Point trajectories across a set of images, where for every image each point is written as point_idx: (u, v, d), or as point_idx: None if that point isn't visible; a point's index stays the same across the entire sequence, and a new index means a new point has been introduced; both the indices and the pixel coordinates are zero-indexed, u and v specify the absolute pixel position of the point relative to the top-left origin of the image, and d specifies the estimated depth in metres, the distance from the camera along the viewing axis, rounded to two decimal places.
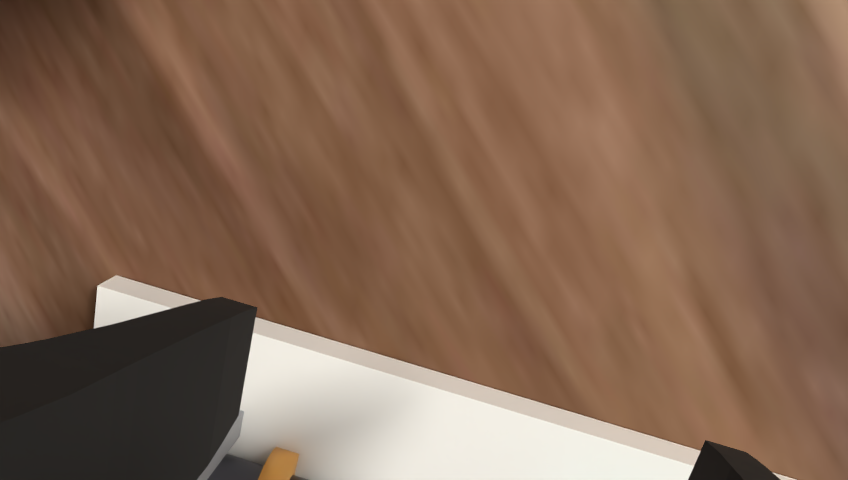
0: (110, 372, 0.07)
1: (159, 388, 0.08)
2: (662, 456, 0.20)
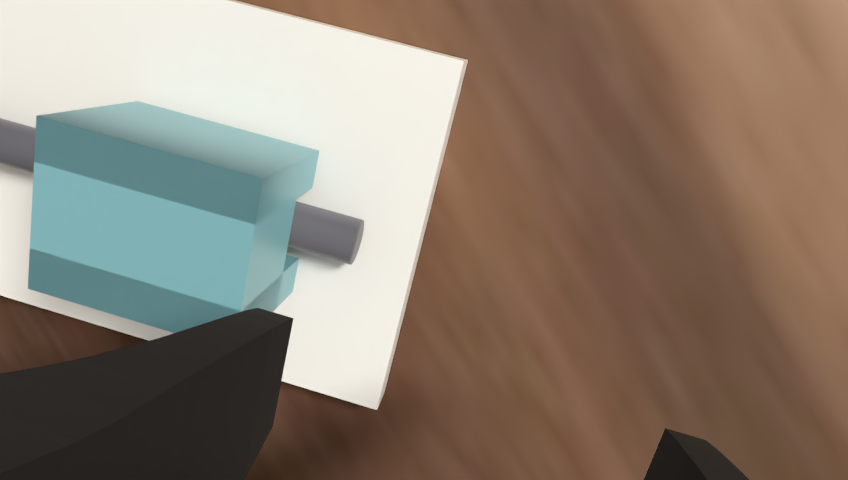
0: (164, 389, 0.07)
1: (206, 403, 0.08)
2: (246, 5, 0.16)
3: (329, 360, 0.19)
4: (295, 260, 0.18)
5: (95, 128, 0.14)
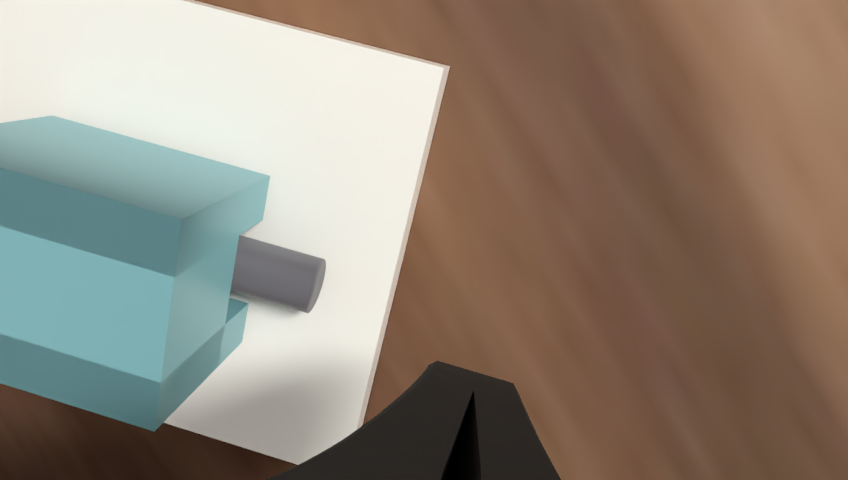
0: (435, 473, 0.07)
1: (443, 476, 0.08)
2: (180, 0, 0.13)
3: (288, 421, 0.16)
4: (243, 306, 0.15)
5: None
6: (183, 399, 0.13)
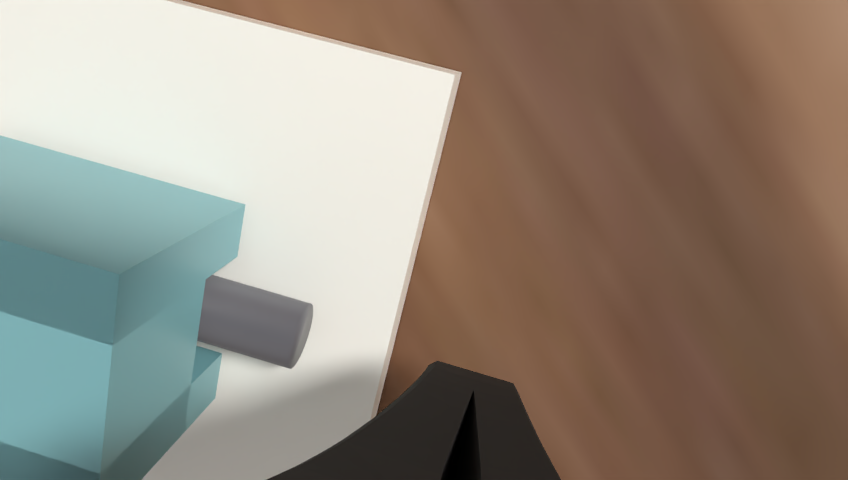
0: (435, 473, 0.07)
1: (442, 476, 0.08)
2: None
3: None
4: (215, 358, 0.12)
5: None
6: None
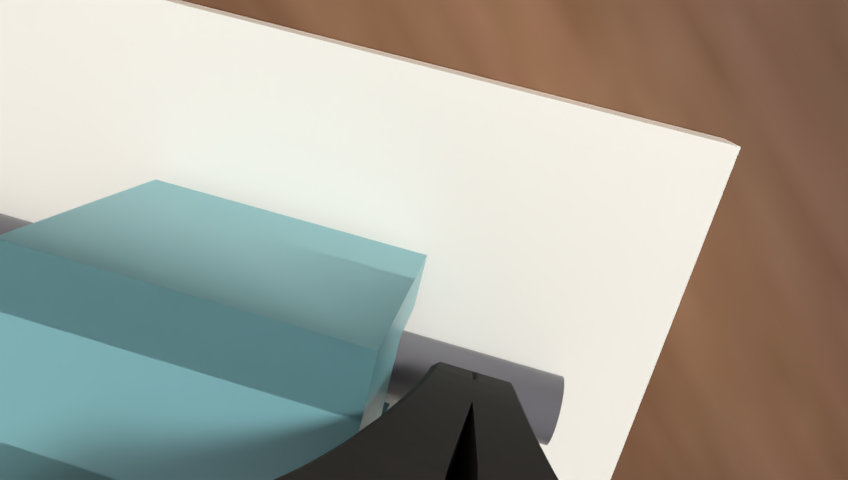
0: (439, 474, 0.07)
1: (446, 477, 0.08)
2: (396, 59, 0.11)
3: None
4: (386, 409, 0.12)
5: (91, 256, 0.08)
6: None
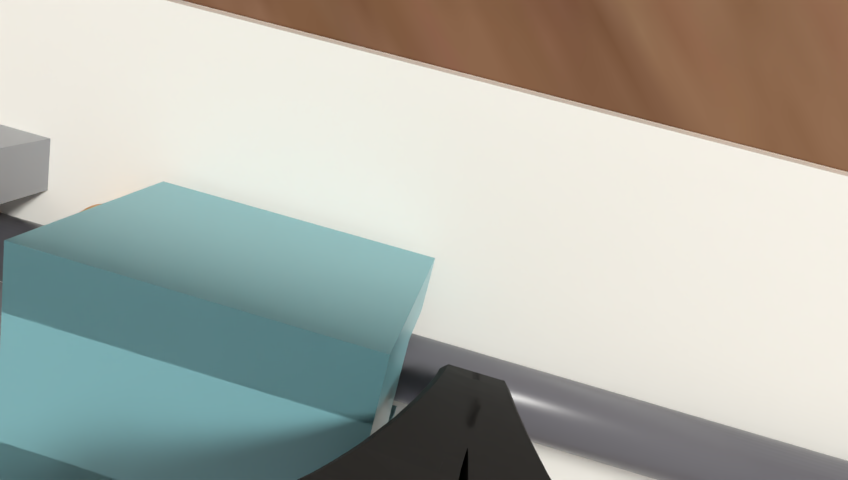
0: (452, 478, 0.07)
1: None
2: (826, 171, 0.10)
3: None
4: (393, 412, 0.12)
5: (103, 259, 0.08)
6: None
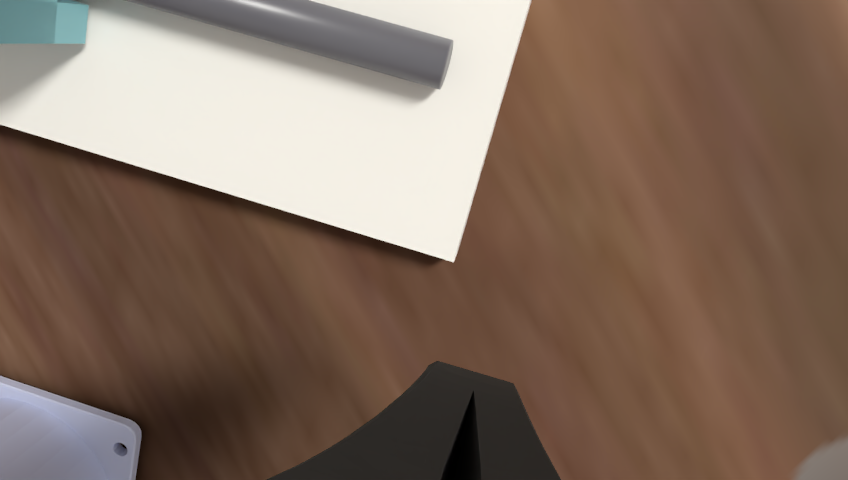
0: (435, 473, 0.07)
1: (442, 476, 0.08)
2: None
3: (405, 207, 0.18)
4: (82, 4, 0.17)
5: None
6: (9, 43, 0.15)
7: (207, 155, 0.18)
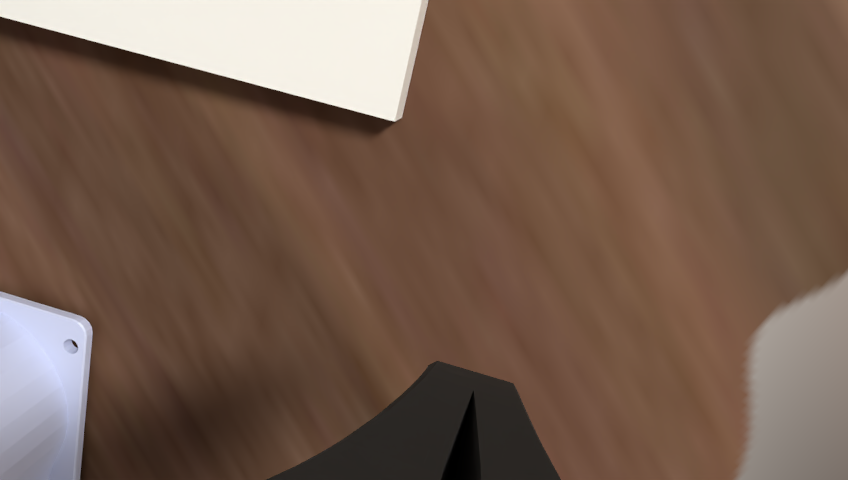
0: (435, 473, 0.07)
1: (442, 476, 0.08)
2: None
3: (343, 64, 0.17)
4: None
5: None
6: None
7: (142, 20, 0.18)
